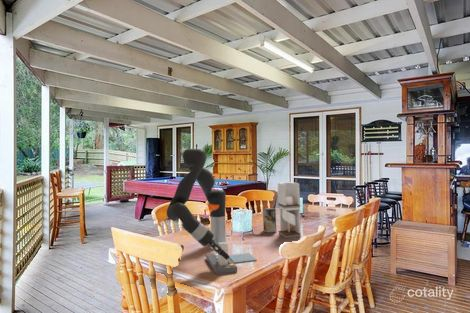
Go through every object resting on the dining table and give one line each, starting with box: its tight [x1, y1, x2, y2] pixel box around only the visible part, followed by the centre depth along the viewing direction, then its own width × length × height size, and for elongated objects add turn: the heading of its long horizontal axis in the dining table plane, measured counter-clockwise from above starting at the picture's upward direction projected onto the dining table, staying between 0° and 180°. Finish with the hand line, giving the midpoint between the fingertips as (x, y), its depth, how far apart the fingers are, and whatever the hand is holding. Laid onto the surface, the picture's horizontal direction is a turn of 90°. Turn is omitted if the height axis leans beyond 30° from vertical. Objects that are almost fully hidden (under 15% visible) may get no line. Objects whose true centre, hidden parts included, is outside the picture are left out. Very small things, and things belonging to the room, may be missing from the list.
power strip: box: [205, 252, 238, 275], centre depth 163 cm, size 28×10×3 cm, turn 16°
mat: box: [228, 252, 257, 264], centre depth 170 cm, size 12×12×1 cm
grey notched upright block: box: [277, 181, 302, 238], centre depth 217 cm, size 11×11×35 cm
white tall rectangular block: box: [218, 242, 229, 266], centre depth 156 cm, size 4×4×12 cm
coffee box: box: [262, 207, 277, 233], centre depth 230 cm, size 9×6×16 cm
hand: (226, 256), depth 157 cm, fingers closed on white tall rectangular block, 4 cm apart
